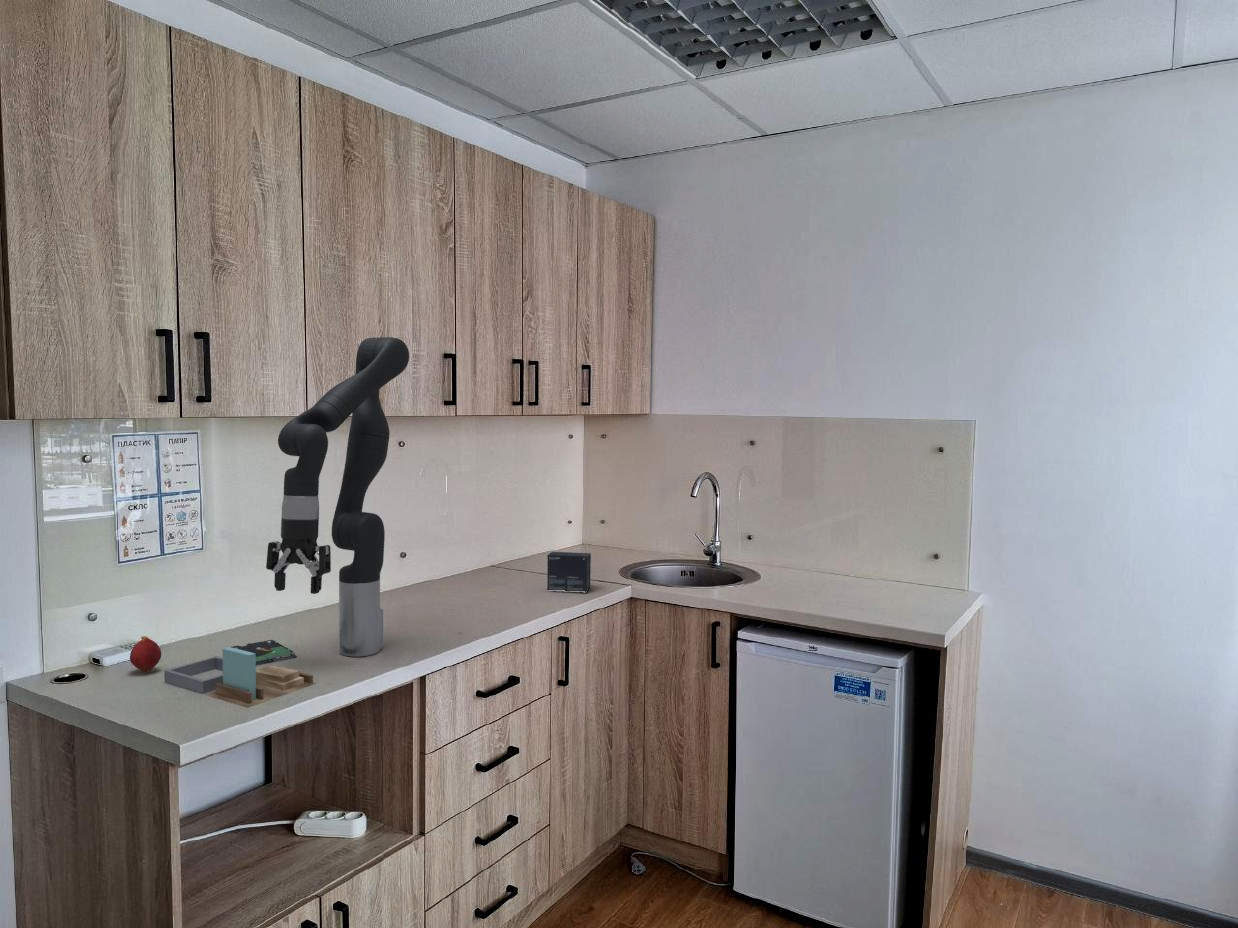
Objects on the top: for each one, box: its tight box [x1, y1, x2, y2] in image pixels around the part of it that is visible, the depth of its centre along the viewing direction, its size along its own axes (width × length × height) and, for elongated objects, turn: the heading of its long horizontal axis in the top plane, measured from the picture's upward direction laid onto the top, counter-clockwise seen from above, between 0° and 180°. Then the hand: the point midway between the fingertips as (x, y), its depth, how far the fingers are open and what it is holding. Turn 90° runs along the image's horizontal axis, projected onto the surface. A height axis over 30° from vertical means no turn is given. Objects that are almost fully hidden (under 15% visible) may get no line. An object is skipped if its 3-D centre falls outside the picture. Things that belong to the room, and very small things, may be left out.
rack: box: [204, 665, 317, 709], centre depth 165 cm, size 16×13×3 cm
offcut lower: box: [256, 677, 304, 691], centre depth 168 cm, size 5×9×1 cm, turn 61°
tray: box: [163, 655, 223, 695], centre depth 170 cm, size 12×13×4 cm
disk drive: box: [230, 639, 297, 666], centre depth 187 cm, size 10×3×15 cm
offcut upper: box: [256, 665, 300, 683], centre depth 168 cm, size 4×8×1 cm, turn 67°
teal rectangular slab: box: [222, 646, 257, 700], centre depth 160 cm, size 1×8×9 cm, turn 61°
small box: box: [546, 551, 592, 592], centre depth 263 cm, size 13×7×12 cm, turn 81°
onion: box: [129, 635, 162, 673], centre depth 177 cm, size 6×6×8 cm
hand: (297, 591), depth 177 cm, fingers open, 8 cm apart
